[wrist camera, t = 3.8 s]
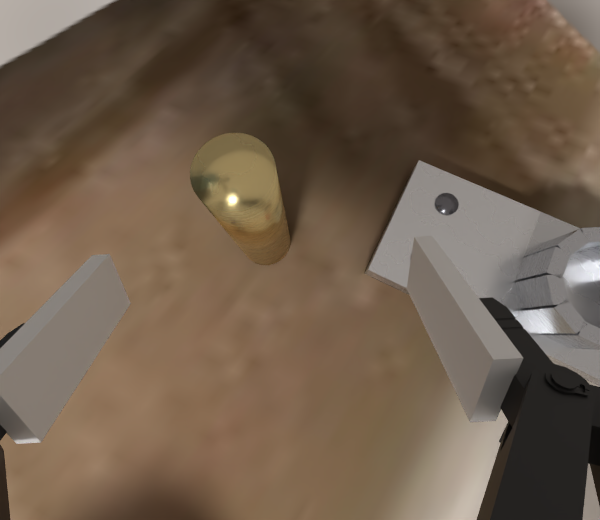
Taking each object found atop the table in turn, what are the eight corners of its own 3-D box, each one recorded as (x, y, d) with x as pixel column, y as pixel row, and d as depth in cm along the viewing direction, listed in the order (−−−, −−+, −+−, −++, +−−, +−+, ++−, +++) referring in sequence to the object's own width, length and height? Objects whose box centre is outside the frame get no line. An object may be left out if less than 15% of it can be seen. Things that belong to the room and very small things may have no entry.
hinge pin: (233, 252, 25) (174, 190, 14) (256, 210, 25) (216, 120, 14) (276, 273, 24) (250, 226, 13) (298, 230, 25) (290, 152, 14)
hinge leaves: (364, 273, 24) (376, 260, 20) (412, 170, 25) (434, 136, 21) (727, 446, 21) (838, 476, 17) (756, 317, 23) (865, 313, 18)
